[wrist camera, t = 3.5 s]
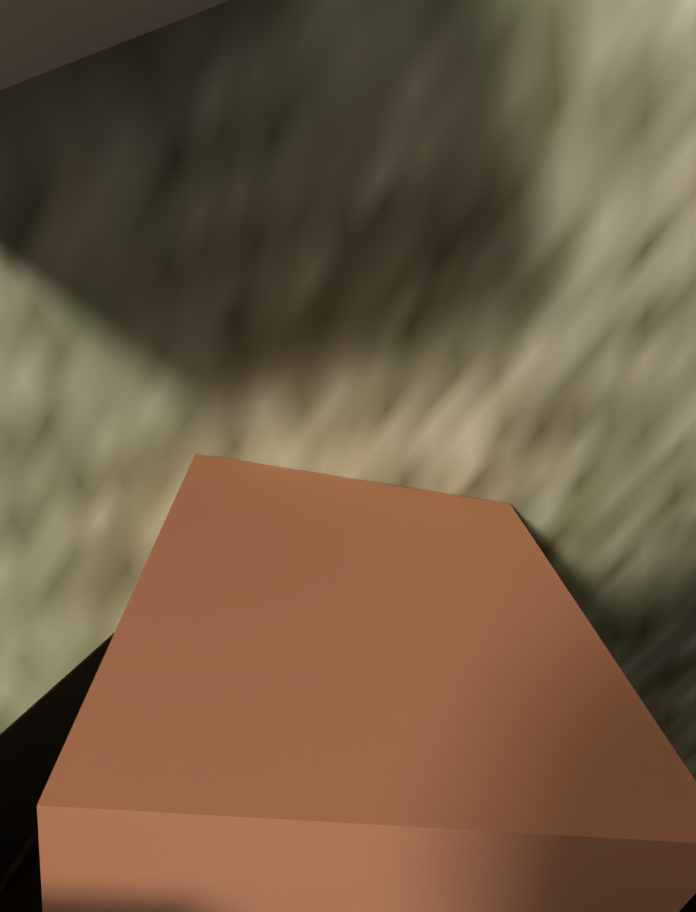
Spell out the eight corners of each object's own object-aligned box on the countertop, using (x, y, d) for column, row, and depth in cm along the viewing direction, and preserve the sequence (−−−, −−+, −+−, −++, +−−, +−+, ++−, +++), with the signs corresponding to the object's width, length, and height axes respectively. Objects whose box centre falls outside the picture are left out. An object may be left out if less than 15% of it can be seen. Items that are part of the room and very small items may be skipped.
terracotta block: (510, 504, 9) (738, 845, 4) (426, 714, 12) (512, 1096, 7) (194, 453, 8) (36, 805, 4) (170, 691, 11) (53, 1108, 6)
